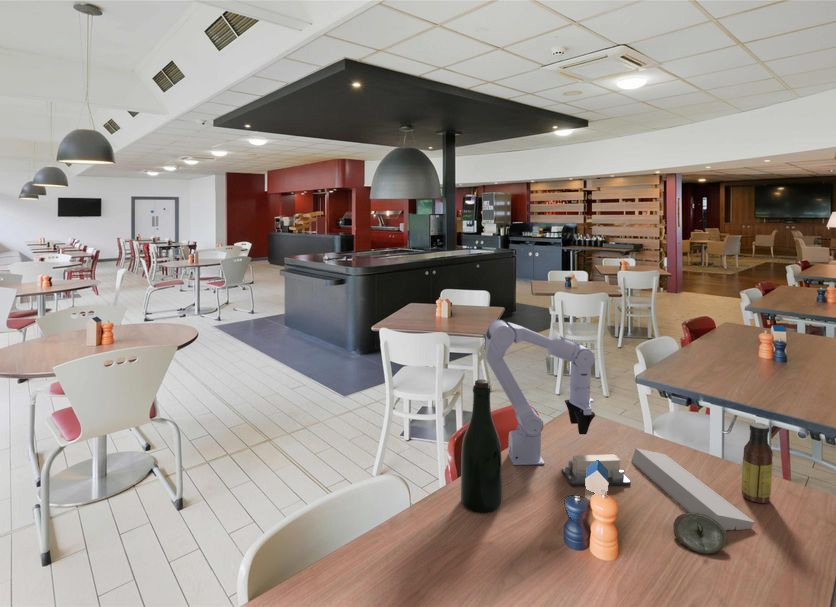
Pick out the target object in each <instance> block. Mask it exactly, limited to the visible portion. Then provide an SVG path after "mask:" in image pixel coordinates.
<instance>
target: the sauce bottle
mask: <svg viewBox="0 0 836 607" xmlns="http://www.w3.org/2000/svg"><path fill="white" fill-rule="evenodd" d="M749 431H750V432H749V440H748V441H747V442H746V444H745V445H744V447H743V456H742V468H741V469H742V470H741V471H742V472H741V494H742V496H743V497H744V499H747V500H748V501H751V502H754V503H758V504H768V503H769V502H770V499H771V495H772V494H771V493H772V481H773V463H774V462H773V455H774V454H773V453H774V452H773V450H772V448H771V446H770V445H769V439H768V438H769V432H770V426H769V425H768V424H765V423H762V422H757V421H756V422H751V423H749Z"/></svg>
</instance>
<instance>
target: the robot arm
mask: <svg viewBox="0 0 836 607" xmlns="http://www.w3.org/2000/svg"><path fill="white" fill-rule="evenodd" d="M521 342H527V343H530V344H532V345H535V346H538V347H541V348H543V349H546V350H547V354H549V355H551V356H553V357H555V358H557V359H561V360H563V361H566V362H571V364H570V379H569V380H570V384H569V391H568V399H565V400H564V403H565V405H566V408H567V410H568V411H567V412H568V417H569V421H570V424H571V425H572V424H573V425H575V424H577V430H578V434H579V435H588V431H589V429H590V424H591V423H592V422H593V419H594V418H595V417H596V413H595V412H594V411H592V407H591V403H592V404H593V403H594V399H593V398H591V377H592V367H593V366H594V364H595V362H596V358H595V356H594V353H593V351H592V350H591V349H589V348H587V347H586V346H585V345H582V343H579V342H577V341H575V342H572V341H570V340H567V339H566V337H565V336H563V335H560V336H558V335H557V336H553V337H548V336H545V335H543V334H540V333H539V332H536V331H533V330H531V329H529V328H527V327H524V326H522V325H519V324H516V323H513V322H509V321H507V322H506V321H505V320H502V319H495V320H493V321H492V322H491V323H490V324H489V325H488V327H487V329H486V331H485V348H484V357H485V360H486V361H487V363H488V366H489V367H490V368H491V371H492V372H493V374H494V376H495V377H496V379H497V381H498V383H499V384H500V386H501V388H502V389H503V392H504V393H505V396H506V397H507V399H508V400H509V402H510V403H511V406H512V408H513V409H514V411H515V412H514V413H515V419H516V421H517V422H518V425H517V427H516V430H512V431H509V433H508V450H507V454H508V456H509V460H510V461H511V464H512V465H513V466H528V465H529V466H530V465H545V464H546V463H545V460H544V458H542V455H541V453H542V452H541V448H542V446H541V444H542V432H543V430H544V422H543V420H542V418H541V417H540V416H539V415H538V414H537V412H536V410H535V409H534V407H532V406H531V405H530V404H529V402H528V401H527V399H526V397H525V395H524V393H523V392H522V389H521V388H520V386H519V384H518V382H517V381H516V379H515V377H514V375H513V374H512V372H511V370H510V368H509V366H508V364H507V362H506V361H505V359H504V357H505V354H506V352H507V351H508V349H509V348H510V347H511V346H512V345H513V344H519V343H521Z"/></svg>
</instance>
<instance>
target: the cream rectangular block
mask: <svg viewBox="0 0 836 607" xmlns="http://www.w3.org/2000/svg"><path fill="white" fill-rule="evenodd" d="M596 460H599V461H600V462H601V463H602V464H603V465H604V466H605V467H606V468H607V469H608V477H611V476H612V470H621V459H620V458H619V457H618V456H617V455H616V454H611V453H610V454H586V455H585V454H582V455H581V454H580V455H579V454H578V455H577V454H575V455H572V461H573V469H572V472H573V474H574V475H575V477H576V471H586V468H587V467H588V466H589V465H590V464H591V463H593V462H594V461H596Z"/></svg>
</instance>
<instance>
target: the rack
mask: <svg viewBox="0 0 836 607" xmlns="http://www.w3.org/2000/svg"><path fill="white" fill-rule="evenodd" d="M572 469H573V460H568V466H565V467H564V466H563V467H561V472H562V473H563V474H564V476H565V477H566V479H567V481H568V482H569V484H570V485H571V488H585V487H584V486H585V478H586V471H576V477H575V475H574V474H573V472H572ZM608 482H609V486H608V487H617V486H618V487H619V486H624V487H625V486H631V483H632V481H631V480H630V479H629V478H628V477H627V476H626V475H625V471H624V470H623V469H620V470H612V476H611V477H608Z"/></svg>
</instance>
